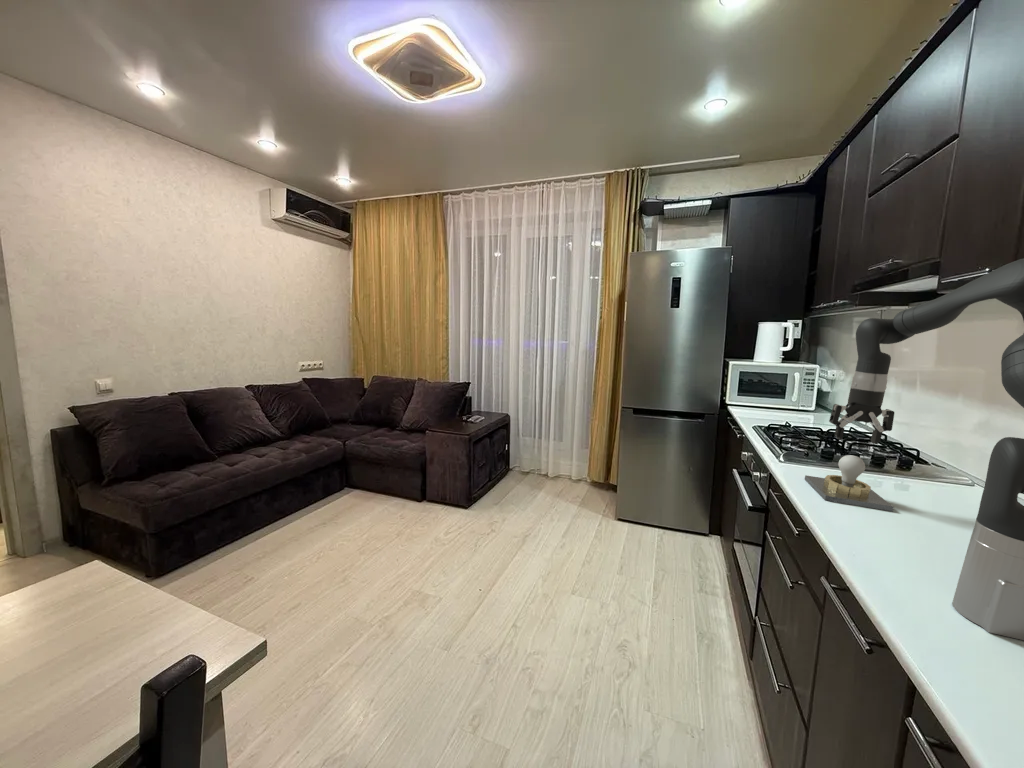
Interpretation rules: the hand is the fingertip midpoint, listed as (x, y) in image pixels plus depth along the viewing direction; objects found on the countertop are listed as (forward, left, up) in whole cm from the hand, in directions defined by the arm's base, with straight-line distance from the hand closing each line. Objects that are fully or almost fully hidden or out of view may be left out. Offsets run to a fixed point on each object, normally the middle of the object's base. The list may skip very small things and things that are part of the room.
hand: (856, 441), depth 117 cm
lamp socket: (0, 0, -17) cm, 17 cm away
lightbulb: (0, 0, -16) cm, 16 cm away
